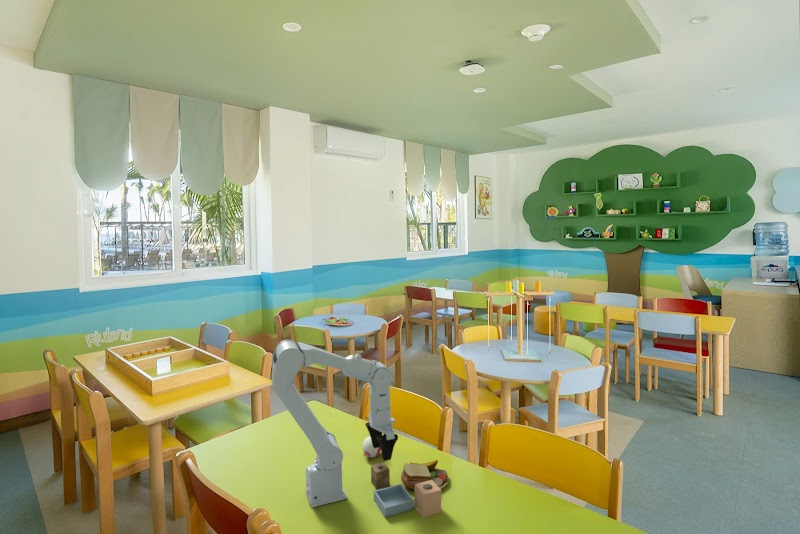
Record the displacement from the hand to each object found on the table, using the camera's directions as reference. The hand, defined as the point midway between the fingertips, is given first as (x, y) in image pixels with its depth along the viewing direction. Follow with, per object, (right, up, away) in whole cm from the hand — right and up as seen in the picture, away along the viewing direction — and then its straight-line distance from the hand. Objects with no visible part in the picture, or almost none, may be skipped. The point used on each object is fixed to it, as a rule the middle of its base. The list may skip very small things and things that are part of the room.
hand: (382, 453), depth 127 cm
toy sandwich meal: (+12, -9, +1) cm, 15 cm away
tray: (+3, -10, -9) cm, 14 cm away
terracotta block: (+12, -10, -11) cm, 19 cm away
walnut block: (0, -9, +1) cm, 9 cm away
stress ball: (-3, -8, +17) cm, 19 cm away
